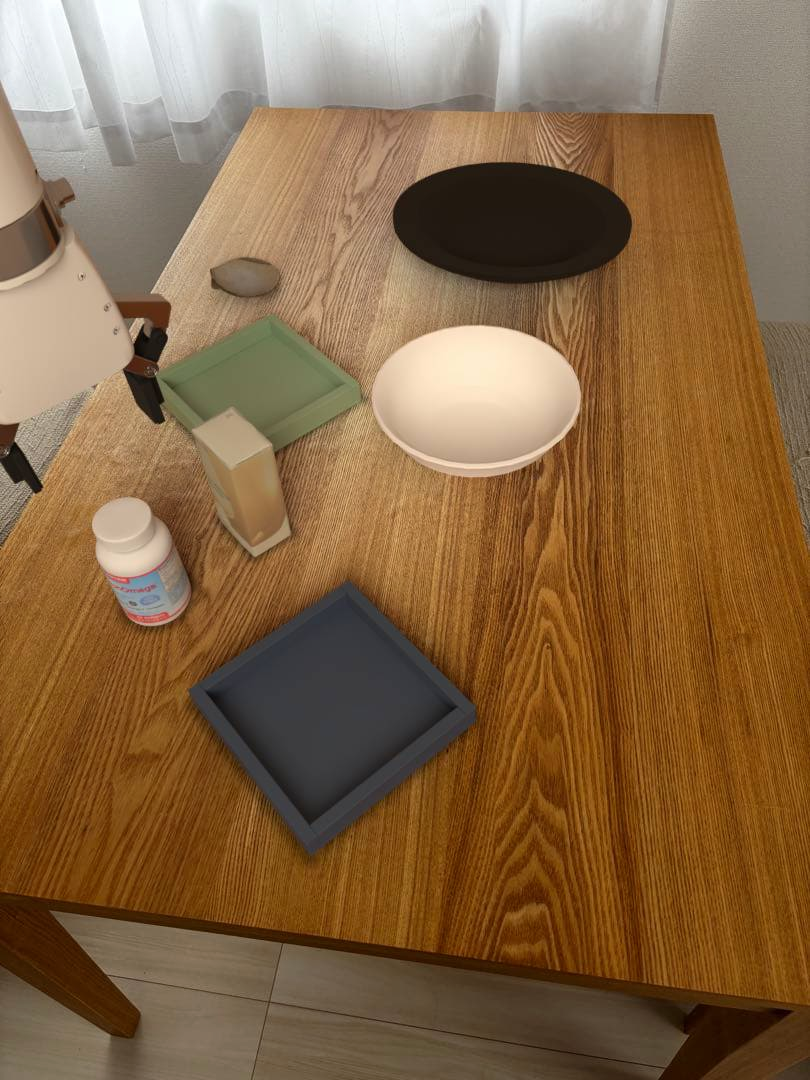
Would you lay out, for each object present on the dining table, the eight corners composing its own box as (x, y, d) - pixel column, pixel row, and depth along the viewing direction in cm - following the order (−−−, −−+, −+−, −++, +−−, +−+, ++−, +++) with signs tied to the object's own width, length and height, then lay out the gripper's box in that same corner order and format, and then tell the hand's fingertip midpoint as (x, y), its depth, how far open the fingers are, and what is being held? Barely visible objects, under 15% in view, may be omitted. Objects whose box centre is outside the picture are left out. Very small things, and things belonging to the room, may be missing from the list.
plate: (367, 297, 102) (363, 256, 98) (428, 191, 116) (426, 150, 111) (605, 336, 96) (612, 294, 91) (639, 219, 109) (647, 177, 105)
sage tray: (234, 476, 85) (228, 459, 83) (153, 395, 93) (147, 377, 91) (361, 400, 91) (359, 382, 89) (275, 330, 99) (272, 312, 97)
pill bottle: (112, 620, 75) (66, 540, 67) (145, 565, 79) (106, 482, 70) (174, 636, 74) (136, 556, 65) (205, 579, 78) (173, 497, 69)
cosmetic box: (218, 520, 82) (187, 427, 72) (256, 497, 83) (230, 403, 74) (256, 561, 79) (228, 469, 69) (295, 536, 80) (273, 442, 71)
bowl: (410, 358, 95) (407, 310, 90) (590, 390, 90) (598, 341, 85) (348, 489, 83) (341, 442, 78) (551, 532, 79) (557, 486, 74)
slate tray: (310, 856, 62) (306, 844, 60) (194, 704, 70) (187, 689, 68) (475, 722, 68) (476, 707, 66) (351, 595, 76) (348, 579, 74)
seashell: (280, 314, 104) (279, 263, 107) (280, 297, 101) (279, 245, 104) (209, 312, 102) (211, 260, 106) (208, 294, 100) (209, 241, 103)
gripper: (95, 151, 53) (170, 365, 67) (-188, 269, 47) (-42, 480, 61) (156, 197, 50) (223, 415, 63) (-143, 332, 43) (2, 542, 57)
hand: (93, 446), depth 62 cm, fingers open, 9 cm apart
